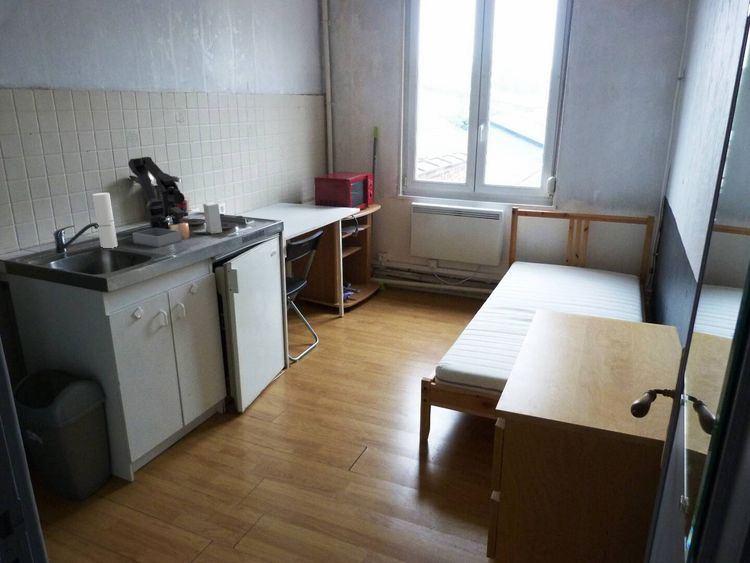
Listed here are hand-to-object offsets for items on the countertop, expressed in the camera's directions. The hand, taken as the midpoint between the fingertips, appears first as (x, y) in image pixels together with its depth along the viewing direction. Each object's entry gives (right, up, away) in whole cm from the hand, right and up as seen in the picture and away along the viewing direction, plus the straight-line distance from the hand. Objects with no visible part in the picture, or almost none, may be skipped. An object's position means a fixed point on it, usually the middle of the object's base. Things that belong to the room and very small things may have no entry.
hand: (172, 232), depth 289 cm
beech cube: (0, -1, 0) cm, 1 cm away
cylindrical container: (-21, -9, -23) cm, 33 cm away
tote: (-1, -6, -15) cm, 17 cm away
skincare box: (+20, +1, +5) cm, 21 cm away
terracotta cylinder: (+9, -3, -7) cm, 11 cm away
